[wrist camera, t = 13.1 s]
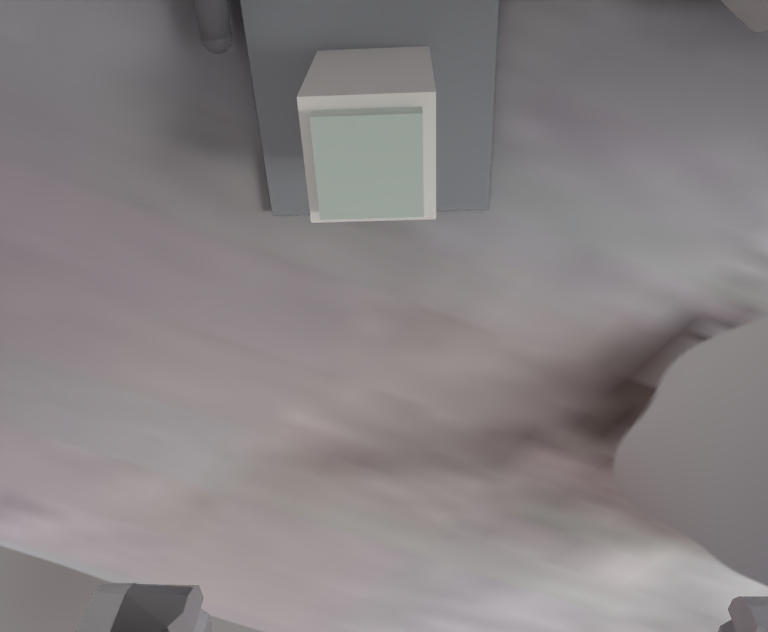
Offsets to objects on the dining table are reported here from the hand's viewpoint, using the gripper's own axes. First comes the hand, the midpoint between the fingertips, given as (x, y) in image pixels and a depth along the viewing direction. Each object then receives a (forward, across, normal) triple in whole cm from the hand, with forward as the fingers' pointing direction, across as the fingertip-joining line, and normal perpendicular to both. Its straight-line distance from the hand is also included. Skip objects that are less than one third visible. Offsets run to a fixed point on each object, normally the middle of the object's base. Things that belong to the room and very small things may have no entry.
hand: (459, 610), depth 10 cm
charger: (+22, +2, -1) cm, 22 cm away
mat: (+23, +3, -1) cm, 23 cm away
